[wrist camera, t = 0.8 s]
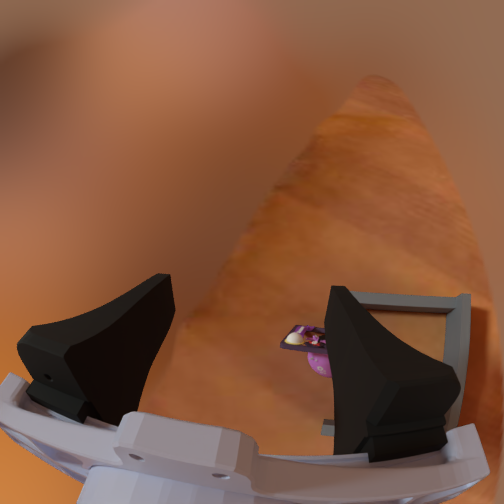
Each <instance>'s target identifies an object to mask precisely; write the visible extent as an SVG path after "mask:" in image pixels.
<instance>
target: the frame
mask: <svg viewBox="0 0 504 504" xmlns="http://www.w3.org/2000/svg"><path fill="white" fill-rule="evenodd" d="M350 292H351V294H352V295H353V296H354V297H355V298H356V299H357V300H358V301H359V303H360V304H361V305H362V306H363V307H364V308H365V309H377V310H393V311H411V312H433V313H447V315H446V335H445V348H444V358H443V363H445V364H447V365H450V366H452V367H453V369H454V371H455V373H456V375H457V377H458V380H459V382H460V385H461V391H460V394H459V396H458V397H457V399H456V401H455V402H454V403H453V405H452V406H451V407H450V409H449V410H448V411H447V412H446V414H445V415H444V416H445V419H446V425H445V426H443V427H444V431H445V433H446V432H447V431H449V430H451V429H453V428H457V425H458V421H459V416H460V411H461V406H462V401H463V395H464V388H465V382H466V374H467V366H468V356H469V343H470V324H471V294H460V295H459V296H457V297H435V296H416V295H399V294H383V293H368V292H354V291H350ZM321 435H326V436H334V420H327V419H324V422H323V426H322V431H321Z"/></svg>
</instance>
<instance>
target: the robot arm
mask: <svg viewBox="0 0 504 504" xmlns="http://www.w3.org/2000/svg"><path fill="white" fill-rule="evenodd" d="M174 314H175V304H174V298H173V291H172V284H171V277H170V274H159V273H158V274H156V275H154V276H152V277H151V278H149V279H147V280H146V281H144V282H143V283H141V284H139V285H138V286H136V287H135V288H133V289H131V290H130V291H128V292H127V293H125V294H123V295H121V296H120V297H118V298H116V299H114V300H113V301H111V302H109V303H107V304H105V305H103V306H101V307H99V308H96V309H94V310H92V311H90V312H87V313H84V314H81V315H79V316H76V317H73V318H70V319H66V320H62V321H59V322H54V323H49V324H44V325H37V326H32V327H31V328H30V329H29V330H28V331H27V332H26V334H25V335H24V336H23V337H22V338H21V339H20V341H19V342H18V343H17V350H18V354H19V356H20V358H21V360H22V362H23V363H24V365H25V366H26V368H27V370H28V372H29V373H30V375H31V376H32V378H33V379H34V380H33V381H32V383H31V384H29V383H28V382H27V381H26V380H25V379H23V378H21V377H19V376H17V375H15V374H13V373H9V374H8V376H7V377H6V378H5V380H4V381H3V382H2V384H1V385H0V428H1V429H2V430H3V431H4V432H5V433H6V434H7V435H8V436H9V437H10V438H11V439H12V440H13V441H14V442H16V443H17V444H19V445H20V446H22V447H23V448H25V449H26V450H28V451H29V452H31V453H32V454H34V455H35V456H37V457H38V458H40V459H42V460H43V461H45V462H46V463H48V464H50V465H51V466H53V467H55V468H56V469H58V470H60V471H61V472H63V473H65V474H67V475H68V476H70V477H72V478H74V479H76V480H77V481H79V482H81V483H83V484H84V486H83V488H82V491H81V493H80V496H79V498H78V501H77V503H76V504H439V503H442V502H445V501H448V500H450V499H453V498H455V497H457V496H458V495H460V494H462V493H463V492H465V491H466V490H468V489H469V488H471V487H472V486H474V485H475V484H477V483H478V482H479V481H481V480H482V479H484V478H485V477H486V476H488V475H489V474H490V469H489V466H488V463H487V459H486V456H485V453H484V450H483V447H482V444H481V441H480V438H479V435H478V432H477V430H476V427H475V424H474V423H471V424H468V425H464V426H461V427H457V428H453V429H451V430H449V431H447V432H446V433H445V431H444V427H443V426H445V425H446V419H445V416H444V415H445V414H446V412H447V411H448V410H449V409H450V407H451V406H452V405H453V403H454V402H455V401H456V399H457V397H458V396H459V394H460V391H461V385H460V382H459V380H458V377H457V375H456V373H455V371H454V369H453V367H452V366H450V365H447V364H445V363H442V362H440V361H437V360H435V359H433V358H431V357H429V356H427V355H425V354H423V353H421V352H419V351H417V350H416V349H414V348H412V347H411V346H409V345H407V344H406V343H404V342H403V341H401V340H400V339H399V338H397V337H396V336H395V335H393V334H392V333H391V332H389V331H388V330H387V329H386V328H385V327H383V326H382V325H381V324H380V323H379V322H378V321H377V320H376V319H375V318H374V317H373V316H372V315H371V314H370V313H369V312H368V311H367V310H366V309H365V308H364V307H363V306H362V305H361V304H360V303H359V301H358V300H357V299H356V298H355V297H354V296H353V295H352V294H351V292H350V291H349V290H348V289H347V288H346V287H345V286H331V291H330V296H329V301H328V306H327V311H326V316H325V321H324V325H325V342H326V347H327V353H328V358H329V363H330V369H331V374H332V380H333V388H334V453H333V455H327V456H285V455H265V454H258V450H259V447H258V445H257V443H256V441H255V440H254V439H253V438H252V437H250V436H248V435H247V434H245V433H243V432H241V431H238V430H234V429H229V428H225V427H220V426H213V425H206V424H200V423H194V422H188V421H183V420H178V419H173V418H168V417H163V416H159V415H155V414H150V413H145V412H137V410H138V406H139V402H140V398H141V395H142V391H143V388H144V385H145V382H146V379H147V376H148V373H149V370H150V368H151V365H152V363H153V361H154V359H155V357H156V355H157V353H158V351H159V349H160V347H161V345H162V343H163V341H164V339H165V337H166V335H167V333H168V331H169V329H170V326H171V323H172V320H173V317H174Z"/></svg>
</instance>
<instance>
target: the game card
mask: <svg viewBox="0 0 504 504" xmlns="http://www.w3.org/2000/svg"><path fill="white" fill-rule="evenodd" d="M306 331H312V332H320V333H325V328H317V327H310V326H308V325H307V326H301V325H295V327H294V328H293V329H292V330H291V331H290V332H289V334H288V335H287V336H286V337H285V338H284V339H283V340H282V341H281V343H280V348H283V349H290V350H297V351H304V352H308V361H309V364H310V366H311V367H312V368H313V370H314V371H316V372H317V373H318V374H320V375H322V376H325V377H330V378H332V374H331V369H330V363H329V358H328V353H327V347H326V342H325V335H322V336H319V337H318V336H316V335H315V336H316V337H315V336H313V338H310V337H309V338H306V340H311V341H309V342H304V341H303V336H304V334H305V332H306ZM302 344H305V345H307V346H303V345H302Z"/></svg>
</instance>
